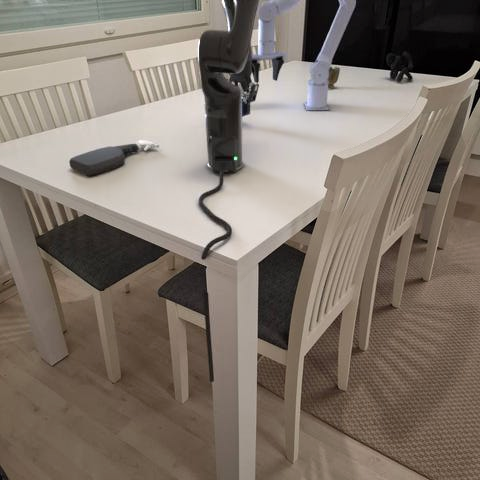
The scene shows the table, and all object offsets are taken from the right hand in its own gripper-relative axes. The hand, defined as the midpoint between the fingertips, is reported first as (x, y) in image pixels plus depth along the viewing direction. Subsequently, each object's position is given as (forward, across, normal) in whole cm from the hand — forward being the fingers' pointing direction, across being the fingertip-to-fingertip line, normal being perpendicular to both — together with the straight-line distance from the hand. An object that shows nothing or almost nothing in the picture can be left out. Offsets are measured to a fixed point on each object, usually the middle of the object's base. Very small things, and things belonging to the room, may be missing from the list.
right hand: (265, 81), depth 162 cm
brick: (+6, -17, -14) cm, 23 cm away
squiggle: (+9, +73, +10) cm, 74 cm away
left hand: (+6, -17, -14) cm, 23 cm away
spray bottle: (+9, -61, -28) cm, 68 cm away
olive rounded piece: (+9, +38, +13) cm, 41 cm away
